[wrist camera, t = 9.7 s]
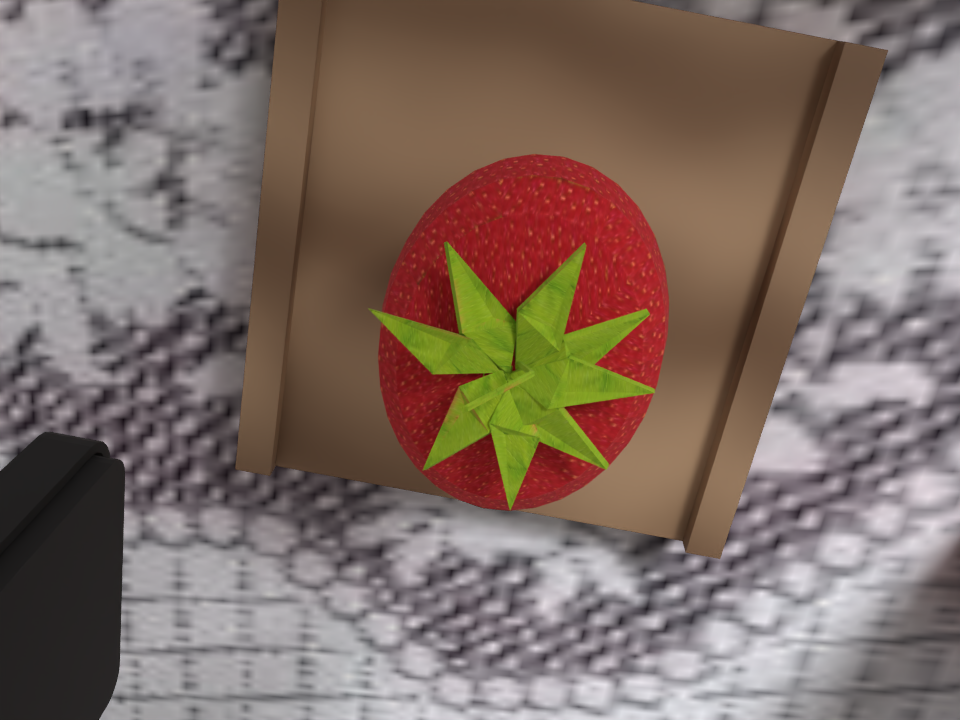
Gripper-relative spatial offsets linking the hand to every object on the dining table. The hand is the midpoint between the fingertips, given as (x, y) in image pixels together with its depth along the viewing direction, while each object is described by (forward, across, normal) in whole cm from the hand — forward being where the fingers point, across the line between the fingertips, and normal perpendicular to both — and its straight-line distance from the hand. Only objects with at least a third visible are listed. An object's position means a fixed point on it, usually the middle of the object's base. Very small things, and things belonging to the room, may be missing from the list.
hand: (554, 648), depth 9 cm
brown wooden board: (+18, 0, +1) cm, 18 cm away
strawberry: (+16, 0, +1) cm, 16 cm away
